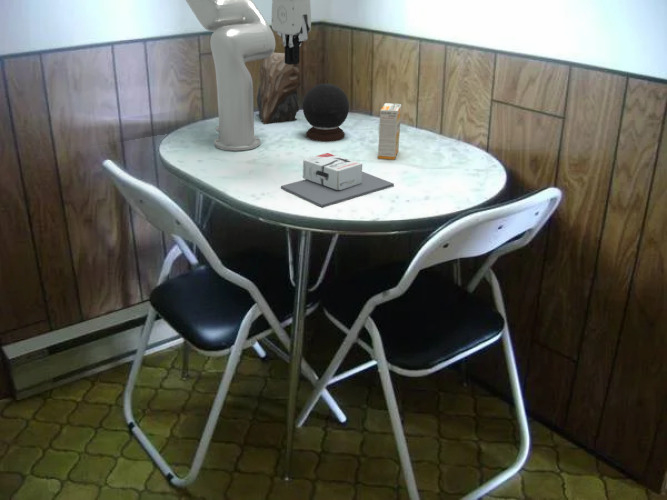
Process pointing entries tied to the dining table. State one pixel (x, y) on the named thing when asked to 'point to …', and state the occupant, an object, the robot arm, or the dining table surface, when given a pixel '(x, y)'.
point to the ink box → (332, 171)
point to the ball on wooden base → (325, 112)
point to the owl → (278, 90)
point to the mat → (331, 196)
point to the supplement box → (389, 131)
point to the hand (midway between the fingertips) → (292, 63)
